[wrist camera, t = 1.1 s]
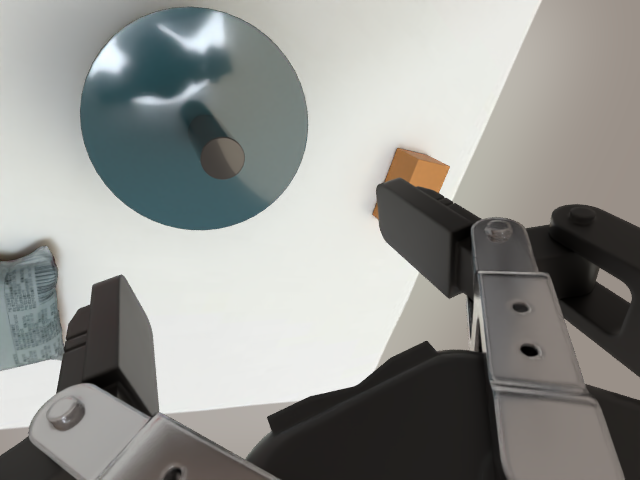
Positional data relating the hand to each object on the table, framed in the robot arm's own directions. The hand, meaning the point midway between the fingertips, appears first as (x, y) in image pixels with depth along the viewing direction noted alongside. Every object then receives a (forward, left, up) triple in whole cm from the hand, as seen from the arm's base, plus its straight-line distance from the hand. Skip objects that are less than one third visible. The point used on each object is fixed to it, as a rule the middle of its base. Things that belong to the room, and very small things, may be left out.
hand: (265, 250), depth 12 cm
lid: (+1, +1, -17) cm, 17 cm away
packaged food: (+11, -20, -26) cm, 35 cm away
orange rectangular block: (+16, +19, -26) cm, 36 cm away
